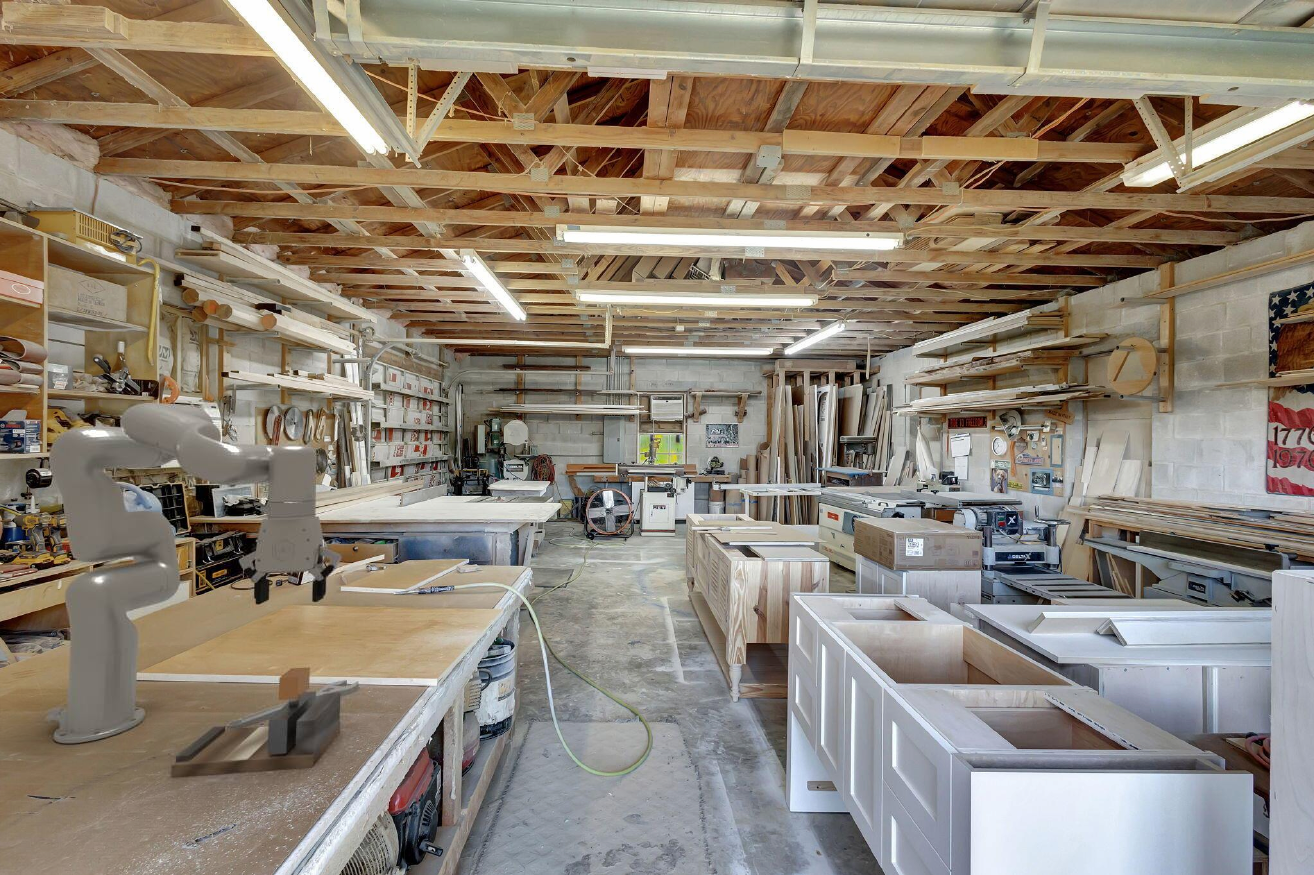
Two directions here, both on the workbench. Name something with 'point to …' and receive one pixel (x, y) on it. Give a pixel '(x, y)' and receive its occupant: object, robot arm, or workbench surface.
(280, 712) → the sliding jaw
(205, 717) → the workbench surface
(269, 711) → the adjustable wrench
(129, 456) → the robot arm
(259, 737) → the bench vise
